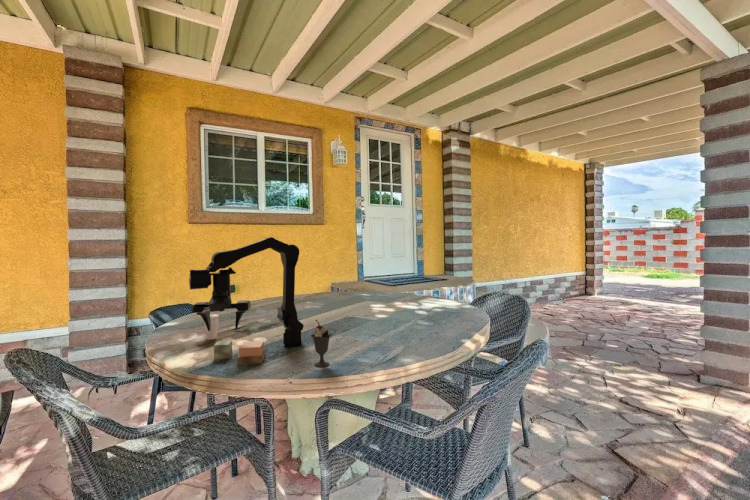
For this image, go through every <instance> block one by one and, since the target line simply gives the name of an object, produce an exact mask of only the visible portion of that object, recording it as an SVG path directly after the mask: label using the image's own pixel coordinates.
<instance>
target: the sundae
mask: <svg viewBox="0 0 750 500" xmlns="http://www.w3.org/2000/svg"><path fill="white" fill-rule="evenodd" d="M315 321H316V322H317V326H316V329H315V330H314V332H313V334H311V335H310V336H311V338H312V339H313V343H314V348H315V349H314V350H315V352H316V353H317V354H318V355H319V361H317V362H315V363H314V367H316V368H326V367H329V365H330V362H328V361H325V360H324V355H325V354H326V353H327V352H328V349H329V343H330V337H331V336H332V333H329V330H328V329H327V328H326V327H325V326H322V325H320V322H319V321H318V319H315Z"/></svg>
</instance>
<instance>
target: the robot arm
mask: <svg viewBox="0 0 750 500" xmlns="http://www.w3.org/2000/svg"><path fill="white" fill-rule="evenodd" d="M269 249H271V250H273V251H275V252H277V253H279V255H280V260H281V264H282V266H283V273H282V276H283V277H282V304H281V306H278V307H277V309H276V310H277V316H276V318H277V319H278V322H279V323H280V324H282V326H283V327H284V328H285V329H284V332H283V335H282V336H283V338H282V339H283V344H284V347H285V348H288V347H301V346H302V344H303V340H302V331H303V329H304V326H305V325H304V324H303V323H302V322H301V321H300V320H299V318H298V311H297V308H296V305H295V291H296V290H295V286H296V284H295V283H296V280H295V279H296V276H295V275H296V266H297V263H298V261H299V256H300V249H299V246H297V245H295V244H291V243H290V244H288V243H285V242H283V241H280V240H278V239H276V238H275V237H271V236H270V237H269V236H268V237H265V238H263V239H261V240H258V241H256V242H253V243H249V244H247V245H244V246H241V247H238V248H234V249H228V250H221V251H217V252H215V253H213V254H212V256H211V261H210V263H209V264H208V265H207V267H205V269H204V268H203V269H189V278H188V283H189V284H188V285H189V290H200V289H202V290H203V289H209V287H210V286H211V285H212V289H213V290H212V291H211V292H212V293H211V297H210V300H209V301H199V302H196V303H194V304H193V305H192V307H191V310H192V311H191V312H192V313H193V314H195V313H196V316H200V317H201V318H202V320H203V323H204V322H205V324H206V326H207V329H208V331H210V330H211V321H210V314H211V312H219V313H220V312H224V311H225V310H228V309H236V311H235V324H234V327H235V329H234V330H236V331H237V330H238V327H239V325H240V322H241V319H242V316H243V314H244V313H246V312H247V311H249V310H250V309H251V307H252V306H251V305H252V304H251V301H250V300H246V299H245V300H238V301H237V302H236V303H235V302H234V303H232V298H231V296H232V295H231V292H232V288H231V275H236V274H237V272H236V271H235V270H234V269H233V268H232V267H231V265H233V264H235V263H237V262H238V261H239V260H242V259H243V258H246V257H249V256H252V255H254V254H257V253H261V252H263V251H265V250H269ZM217 271H218V272H217Z"/></svg>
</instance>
